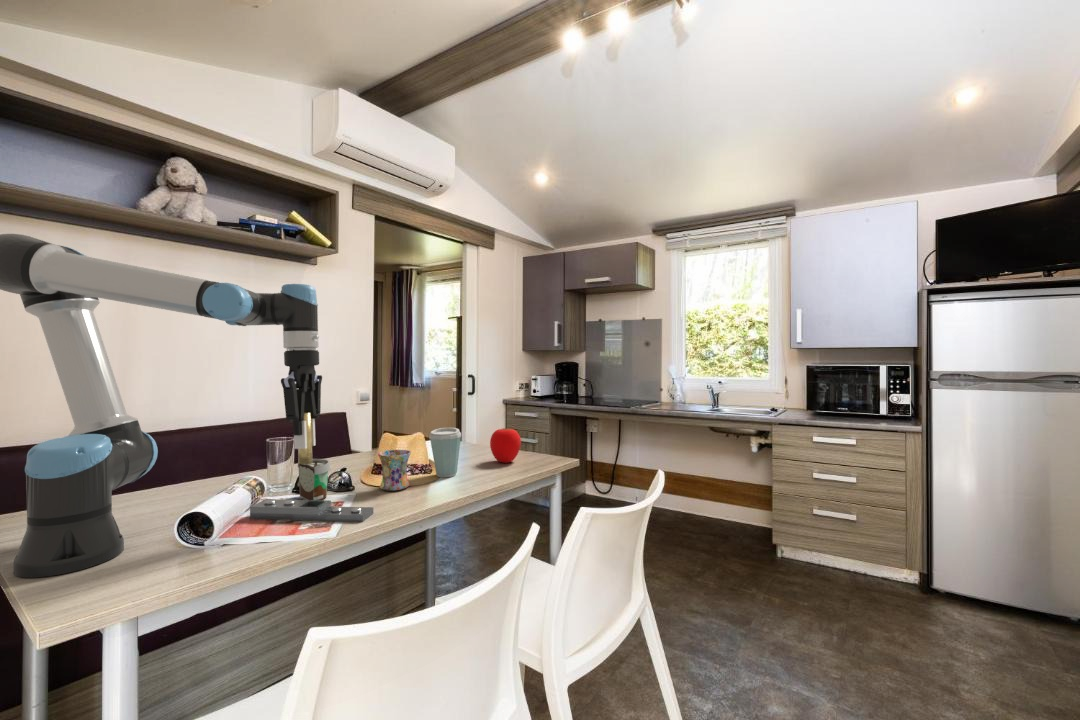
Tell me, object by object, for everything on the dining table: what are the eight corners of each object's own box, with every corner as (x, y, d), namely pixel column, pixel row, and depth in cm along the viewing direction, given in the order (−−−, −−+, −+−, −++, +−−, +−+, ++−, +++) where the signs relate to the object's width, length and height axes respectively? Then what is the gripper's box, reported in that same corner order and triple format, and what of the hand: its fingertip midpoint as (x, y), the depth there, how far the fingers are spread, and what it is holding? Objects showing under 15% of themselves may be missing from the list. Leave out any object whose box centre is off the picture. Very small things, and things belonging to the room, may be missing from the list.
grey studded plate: (373, 513, 118) (373, 499, 118) (362, 521, 112) (362, 507, 112) (266, 511, 120) (265, 497, 120) (250, 519, 114) (249, 504, 114)
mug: (416, 488, 141) (416, 452, 140) (387, 494, 134) (387, 457, 134) (397, 480, 149) (396, 447, 149) (368, 486, 142) (368, 451, 142)
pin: (308, 464, 112) (306, 413, 112) (296, 464, 113) (294, 414, 112) (315, 461, 115) (313, 412, 115) (303, 461, 116) (301, 412, 115)
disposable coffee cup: (458, 479, 150) (458, 432, 150) (425, 479, 150) (424, 432, 150) (464, 471, 161) (464, 427, 161) (433, 471, 161) (432, 427, 161)
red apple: (486, 464, 170) (486, 429, 170) (494, 458, 181) (494, 424, 181) (517, 466, 168) (517, 430, 168) (523, 459, 179) (523, 425, 179)
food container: (338, 499, 130) (338, 463, 130) (315, 504, 125) (315, 467, 125) (320, 490, 138) (319, 456, 138) (297, 495, 134) (297, 460, 134)
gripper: (296, 349, 105) (300, 454, 106) (334, 349, 121) (337, 440, 122) (264, 349, 106) (268, 454, 106) (306, 349, 122) (309, 440, 122)
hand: (305, 446), depth 114 cm, fingers closed on pin, 3 cm apart
